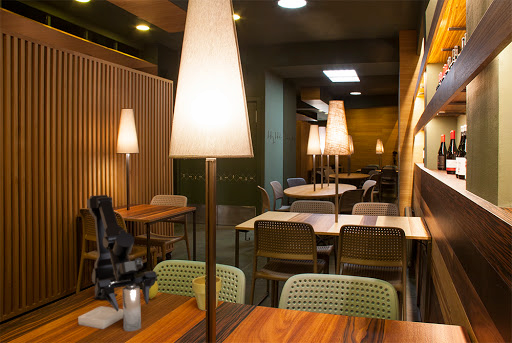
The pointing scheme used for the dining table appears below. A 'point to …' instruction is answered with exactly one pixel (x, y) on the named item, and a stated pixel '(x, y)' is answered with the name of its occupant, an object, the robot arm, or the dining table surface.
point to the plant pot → (199, 290)
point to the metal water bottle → (131, 307)
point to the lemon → (153, 290)
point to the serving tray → (100, 317)
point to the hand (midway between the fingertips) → (132, 307)
